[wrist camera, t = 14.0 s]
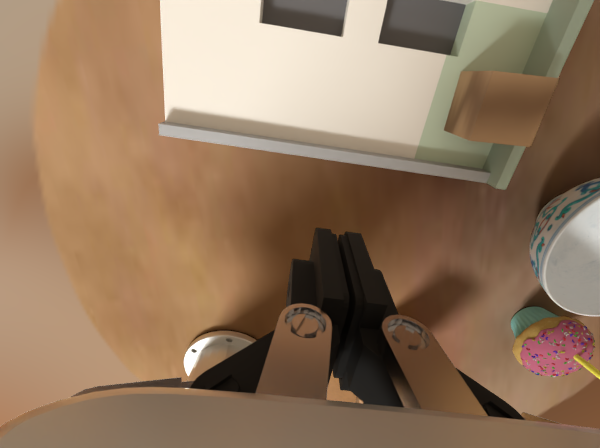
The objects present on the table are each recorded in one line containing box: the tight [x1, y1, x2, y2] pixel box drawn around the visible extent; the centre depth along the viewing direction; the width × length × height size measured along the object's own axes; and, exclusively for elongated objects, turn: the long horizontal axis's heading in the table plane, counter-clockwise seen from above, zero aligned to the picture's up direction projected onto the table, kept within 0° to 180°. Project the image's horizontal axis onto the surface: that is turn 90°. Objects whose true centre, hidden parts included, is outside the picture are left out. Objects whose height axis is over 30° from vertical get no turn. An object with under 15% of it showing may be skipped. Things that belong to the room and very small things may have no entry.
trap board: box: [159, 0, 594, 190], centre depth 26 cm, size 15×32×5 cm, turn 82°
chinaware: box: [530, 178, 600, 316], centre depth 32 cm, size 15×15×8 cm
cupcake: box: [511, 306, 600, 379], centre depth 36 cm, size 9×8×12 cm
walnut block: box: [444, 71, 560, 147], centre depth 26 cm, size 5×5×5 cm
